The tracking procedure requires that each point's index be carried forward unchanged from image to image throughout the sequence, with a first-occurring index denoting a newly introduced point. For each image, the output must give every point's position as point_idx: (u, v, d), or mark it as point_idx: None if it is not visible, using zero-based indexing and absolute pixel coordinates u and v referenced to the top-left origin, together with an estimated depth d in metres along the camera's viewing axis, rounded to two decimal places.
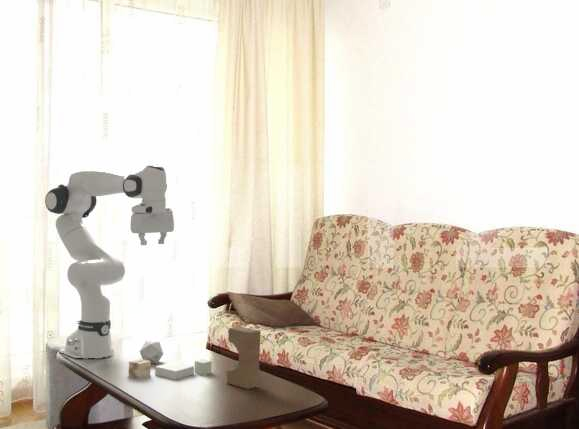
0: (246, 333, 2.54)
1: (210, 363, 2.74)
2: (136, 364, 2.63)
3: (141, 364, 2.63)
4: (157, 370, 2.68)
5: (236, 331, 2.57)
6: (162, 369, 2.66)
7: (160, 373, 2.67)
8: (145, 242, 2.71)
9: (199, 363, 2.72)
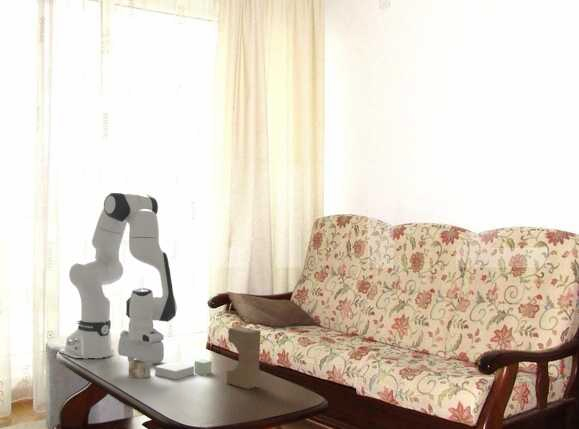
0: (246, 333, 2.54)
1: (210, 363, 2.74)
2: (136, 364, 2.63)
3: (141, 364, 2.63)
4: (157, 370, 2.68)
5: (236, 331, 2.57)
6: (162, 369, 2.66)
7: (160, 373, 2.67)
8: None
9: (199, 363, 2.72)
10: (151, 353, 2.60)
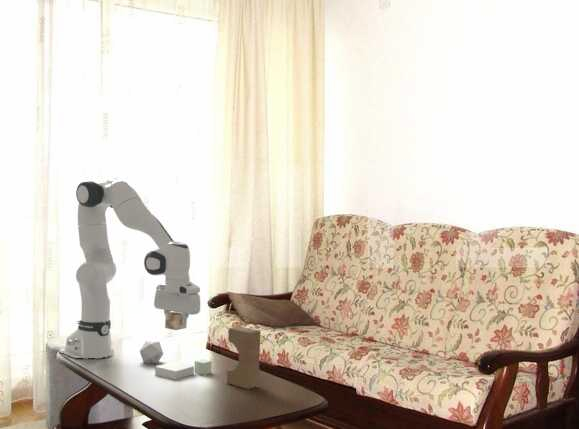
0: (246, 333, 2.54)
1: (210, 363, 2.74)
2: (173, 316, 2.66)
3: (178, 316, 2.66)
4: (157, 370, 2.68)
5: (236, 331, 2.57)
6: (162, 369, 2.66)
7: (160, 373, 2.67)
8: None
9: (199, 363, 2.72)
10: (188, 305, 2.63)
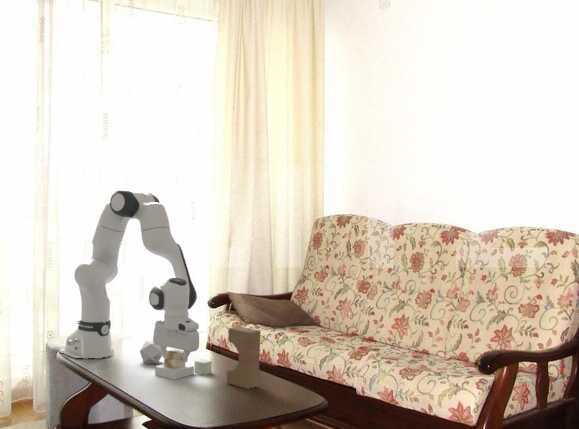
0: (246, 333, 2.54)
1: (210, 363, 2.74)
2: (172, 354, 2.67)
3: (177, 354, 2.66)
4: (157, 370, 2.68)
5: (236, 331, 2.57)
6: (162, 369, 2.66)
7: (160, 373, 2.67)
8: None
9: (199, 363, 2.72)
10: (187, 342, 2.64)
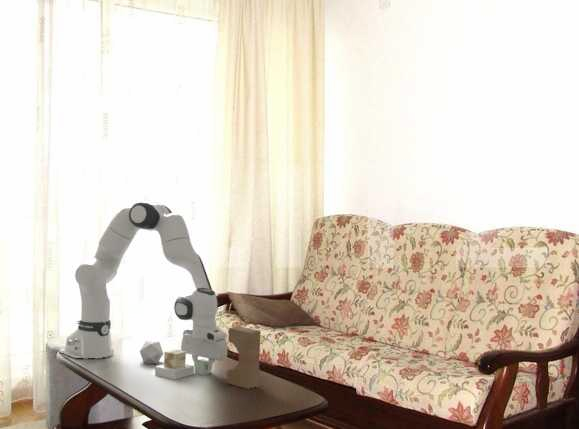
0: (246, 333, 2.54)
1: None
2: (172, 354, 2.67)
3: (177, 354, 2.66)
4: (157, 370, 2.68)
5: (236, 331, 2.57)
6: (162, 369, 2.66)
7: (160, 373, 2.67)
8: None
9: (199, 363, 2.72)
10: (215, 351, 2.68)
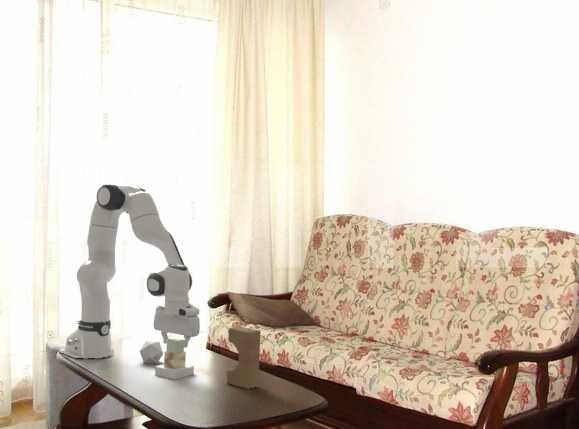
0: (246, 333, 2.54)
1: None
2: (172, 354, 2.67)
3: (177, 354, 2.66)
4: (157, 370, 2.68)
5: (236, 331, 2.57)
6: (162, 369, 2.66)
7: (160, 373, 2.67)
8: None
9: (171, 341, 2.67)
10: (187, 327, 2.63)
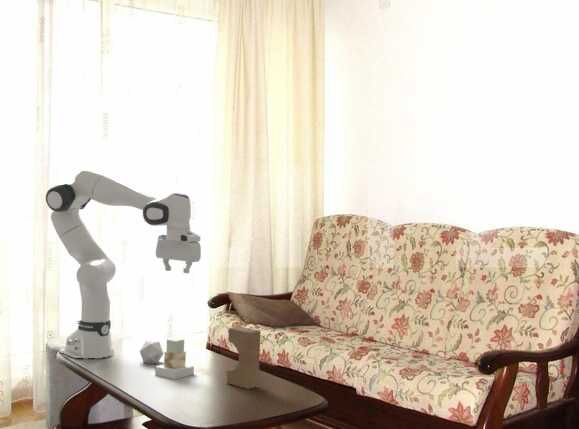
0: (246, 333, 2.54)
1: (182, 342, 2.69)
2: (172, 354, 2.67)
3: (177, 354, 2.66)
4: (157, 370, 2.68)
5: (236, 331, 2.57)
6: (162, 369, 2.66)
7: (160, 373, 2.67)
8: None
9: (171, 341, 2.67)
10: (189, 252, 2.71)
